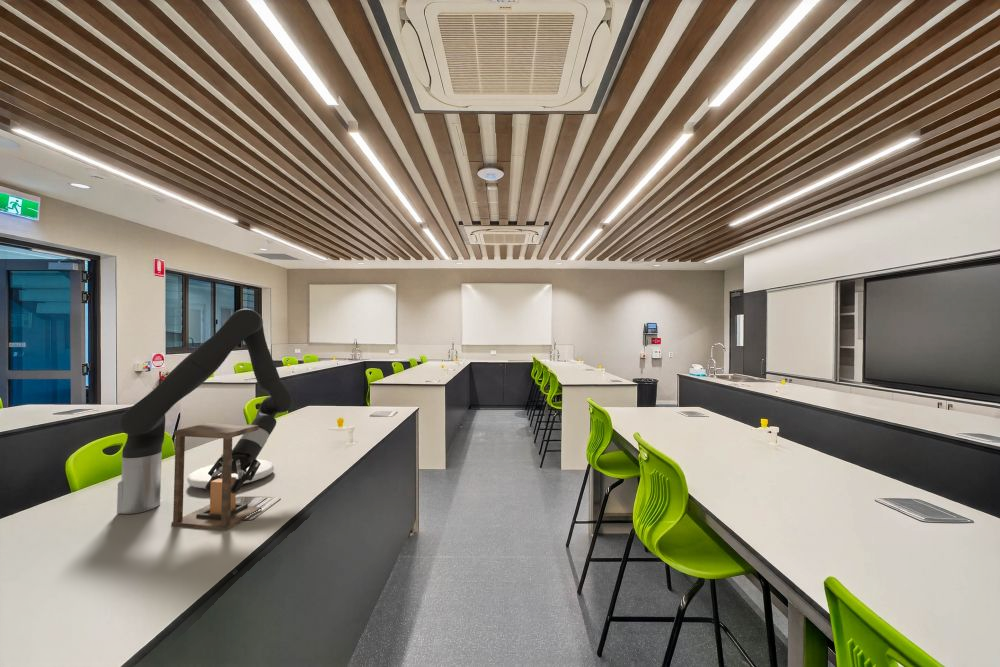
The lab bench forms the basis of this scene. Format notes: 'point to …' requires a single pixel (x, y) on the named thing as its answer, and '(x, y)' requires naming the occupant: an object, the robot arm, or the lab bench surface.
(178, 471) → the walnut shelf
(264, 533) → the lab bench surface
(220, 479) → the terracotta block
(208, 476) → the plate
